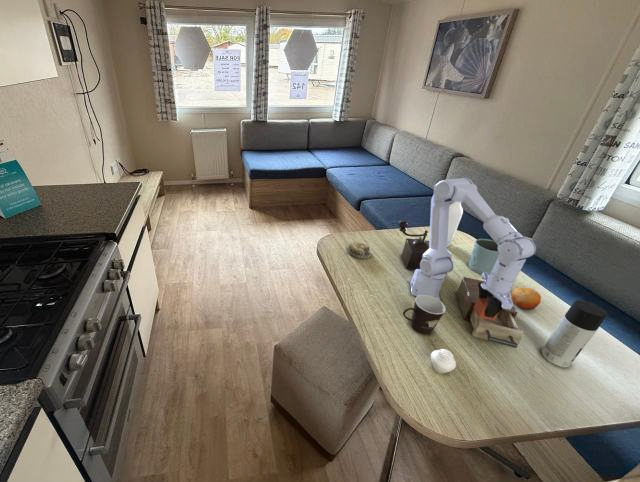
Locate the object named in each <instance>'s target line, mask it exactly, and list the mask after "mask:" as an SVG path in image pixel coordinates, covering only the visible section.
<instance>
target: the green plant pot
mask: <svg viewBox="0 0 640 482" xmlns="http://www.w3.org/2000/svg"><path fill="white" fill-rule="evenodd" d="M498 256H499V253H498V245H497V243H496V242H495V241H494V240H493V239H488V238H478V239H476V240H475V242H474V245H473V249H472V253H471V255H470V259H469V262H468V268H469V269H470V270H472V271H473V272H475V273H477V274H480V275H482V273H483V272H484V273H491V271H492V269H493V267H494V265H495V263H496V261H497V258H498Z"/></svg>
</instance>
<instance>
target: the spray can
mask: <svg viewBox="0 0 640 482" xmlns="http://www.w3.org/2000/svg"><path fill="white" fill-rule="evenodd" d="M607 317H608V313H607V312H606V310H605V309H603V308H602V307H601V306H599V305H597V304H595V303H591V302H589V301H585V300H581V299H577V300H574V301H573V302H572V304H571V305H570V307H569V308H568V310H567V311H566V313H565V314H564V315H563V317H562V318H561V320H560V322H559V323H558V324H557V326H556V327H555V329H554V330H553V332H552V334H551V335H550V337H549V338H548V339H547V341H546V343H545V344H544V346H543V347H542V349H541V354H542V356H543V358H544V359H545V360H546V361H547V362H549V363H551V364H553V365H554V366H557V367H561V368H568V367H570V366H571V365H572V364H573V363H574V361H575V360H576V359H577V357H578V356H579V354H581V352H582V351H583V349H584V348H585V346H586V345H587V344H588V343H589V341H591V339H592V337H594V335H595V334H596V332H597V331H598V330H599V328H600V327H601V325H602V324H603V323H604V321H605V320H606V318H607Z"/></svg>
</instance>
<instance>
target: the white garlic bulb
mask: <svg viewBox="0 0 640 482" xmlns="http://www.w3.org/2000/svg"><path fill="white" fill-rule="evenodd" d="M430 361H431V364H432V367H433V370H435V371H436V372H437V373H439V374H446V373H449V372H450V373H451V372H452V371H453V370H454V369H455V368H456V366H457V362H456V359H455V358H454V354H453V353H452V352H451V350H449V349H447V348H440V349H436V350H433V351H432V352H431V354H430Z"/></svg>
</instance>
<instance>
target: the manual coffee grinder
mask: <svg viewBox="0 0 640 482" xmlns="http://www.w3.org/2000/svg"><path fill="white" fill-rule="evenodd" d="M397 226H398V227H399V231H400V233H401V232H402V234H403V235H404V236H406V237H407V238H405V242H404V245H403V248H402V252H401V254H400V259H401V261H402V263H403V266H404V268H405V269H407V270H412V271H415V270H416V269H420V262H421V261H422V257H423V254H424V253H425V252H426V251H427V250H428V249H429V240H426V238H427V236H428V233H429V230H424V232H423V233H421V234H410V233H407V227H408V226H409V223H408V221H407V220H404V219H401V220H399V221H398V222H397ZM408 237H410V238H408ZM413 237H415V238H413ZM417 237H419V238H417Z"/></svg>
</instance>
